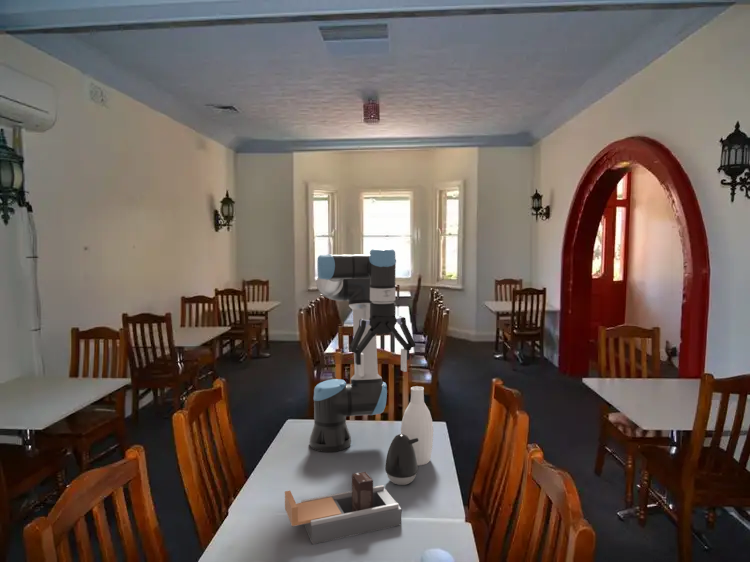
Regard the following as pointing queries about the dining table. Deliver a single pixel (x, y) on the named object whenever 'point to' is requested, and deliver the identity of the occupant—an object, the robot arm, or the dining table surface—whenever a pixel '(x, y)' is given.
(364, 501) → the box
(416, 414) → the bottle
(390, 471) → the pump dispenser
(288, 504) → the shutter
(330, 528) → the grey sliding-lid case
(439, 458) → the dining table surface
